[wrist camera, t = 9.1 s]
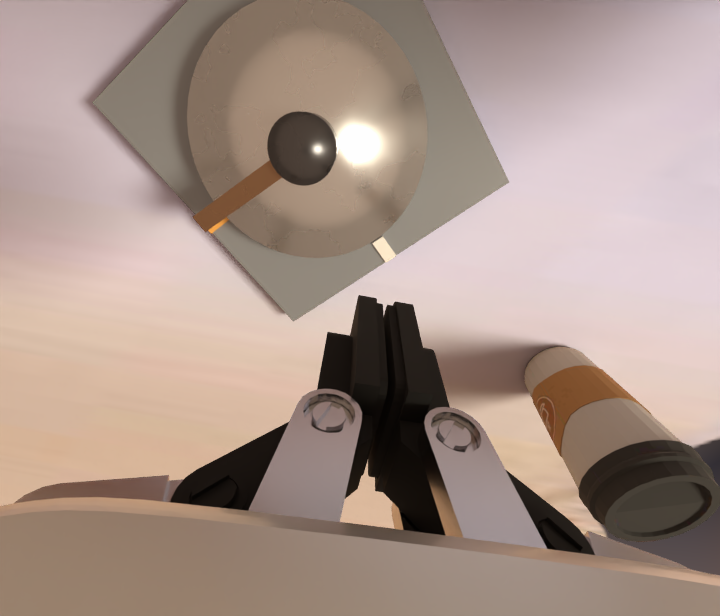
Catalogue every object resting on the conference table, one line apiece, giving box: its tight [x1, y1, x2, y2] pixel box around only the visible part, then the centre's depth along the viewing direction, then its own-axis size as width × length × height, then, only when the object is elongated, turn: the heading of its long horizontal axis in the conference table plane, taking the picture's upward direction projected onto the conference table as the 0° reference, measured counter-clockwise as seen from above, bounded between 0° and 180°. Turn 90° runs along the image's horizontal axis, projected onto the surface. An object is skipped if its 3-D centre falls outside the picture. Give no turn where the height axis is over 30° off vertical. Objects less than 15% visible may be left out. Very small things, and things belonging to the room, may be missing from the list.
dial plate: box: [92, 0, 509, 321], centre depth 26 cm, size 21×21×2 cm
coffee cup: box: [524, 347, 720, 542], centre depth 30 cm, size 8×8×15 cm
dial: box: [187, 0, 428, 258], centre depth 23 cm, size 16×16×5 cm
